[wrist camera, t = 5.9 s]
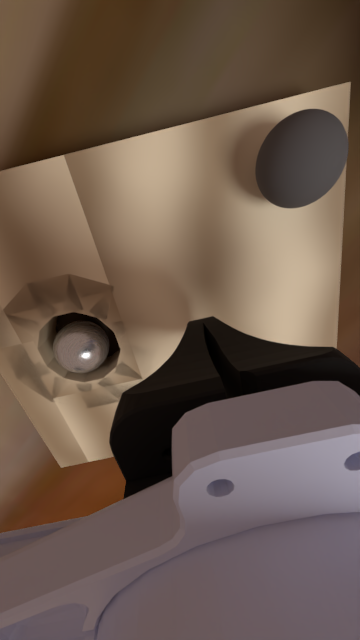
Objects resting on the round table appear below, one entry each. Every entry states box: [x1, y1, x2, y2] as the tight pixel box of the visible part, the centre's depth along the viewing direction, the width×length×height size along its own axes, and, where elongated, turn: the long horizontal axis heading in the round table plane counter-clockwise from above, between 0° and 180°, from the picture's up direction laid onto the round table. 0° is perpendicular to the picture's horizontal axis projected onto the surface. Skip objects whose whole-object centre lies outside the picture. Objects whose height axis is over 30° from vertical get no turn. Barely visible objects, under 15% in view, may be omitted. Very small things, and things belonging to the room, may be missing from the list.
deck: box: [0, 82, 351, 468], centre depth 15 cm, size 20×18×2 cm
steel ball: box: [53, 321, 109, 373], centre depth 15 cm, size 3×3×3 cm
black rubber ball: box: [255, 109, 348, 208], centre depth 9 cm, size 3×3×3 cm
